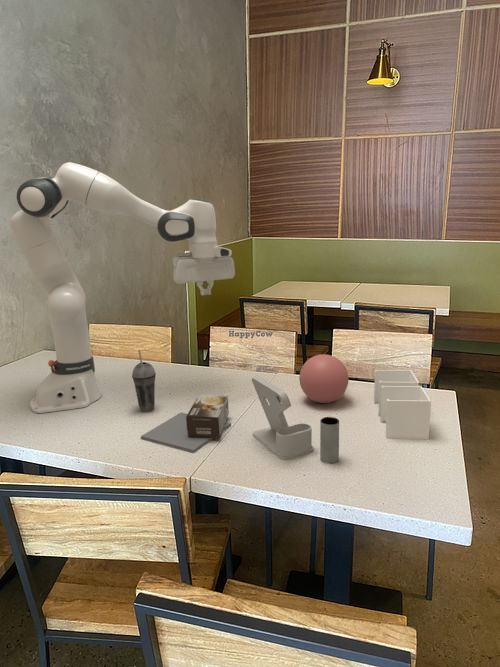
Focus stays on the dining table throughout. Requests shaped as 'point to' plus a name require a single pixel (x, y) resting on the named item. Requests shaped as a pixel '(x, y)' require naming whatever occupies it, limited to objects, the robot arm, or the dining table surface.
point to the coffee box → (207, 416)
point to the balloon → (323, 378)
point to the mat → (177, 434)
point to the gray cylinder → (329, 439)
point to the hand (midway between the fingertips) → (205, 294)
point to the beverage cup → (144, 385)
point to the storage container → (402, 404)
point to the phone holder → (280, 423)
